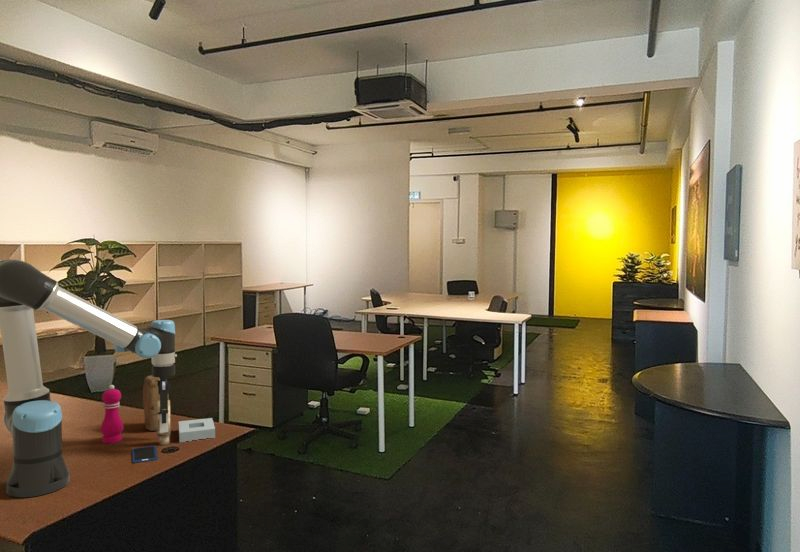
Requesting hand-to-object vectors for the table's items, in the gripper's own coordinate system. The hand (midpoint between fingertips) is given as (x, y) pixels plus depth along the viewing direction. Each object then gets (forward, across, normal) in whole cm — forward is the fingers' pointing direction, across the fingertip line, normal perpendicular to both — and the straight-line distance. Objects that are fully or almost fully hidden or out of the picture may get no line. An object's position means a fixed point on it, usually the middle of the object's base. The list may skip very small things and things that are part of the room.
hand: (164, 427), depth 193 cm
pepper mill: (+6, +10, +17) cm, 21 cm away
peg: (+6, 0, 0) cm, 6 cm away
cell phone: (+6, -9, +6) cm, 12 cm away
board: (+6, +6, -11) cm, 14 cm away
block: (+6, +20, +3) cm, 21 cm away
